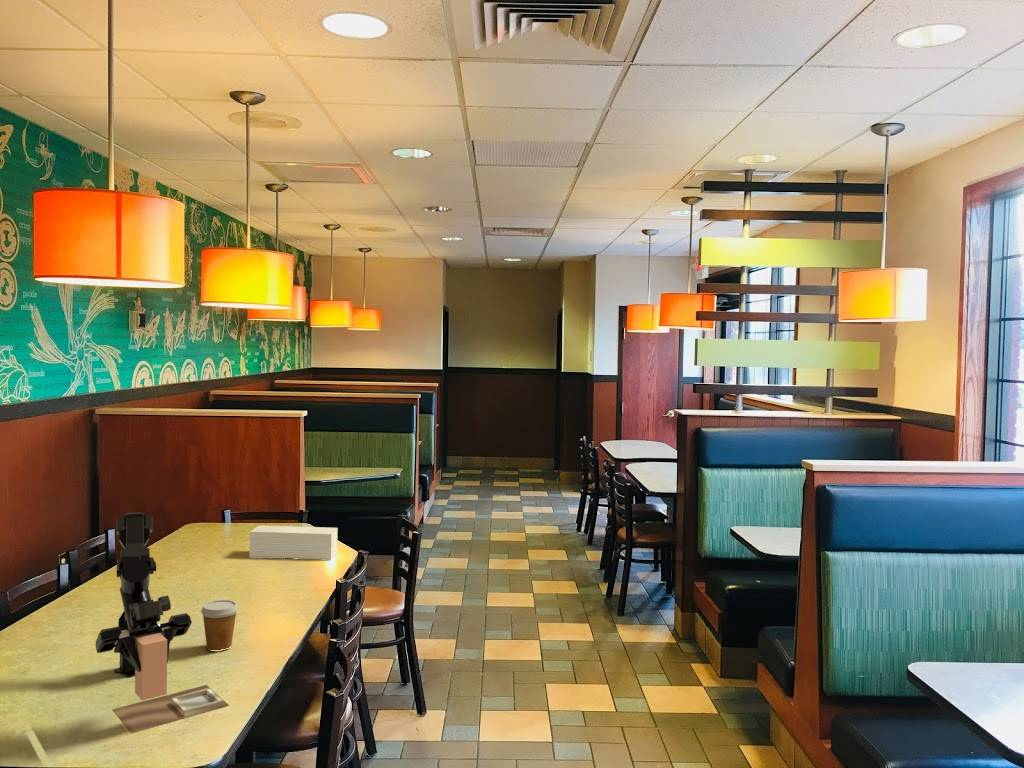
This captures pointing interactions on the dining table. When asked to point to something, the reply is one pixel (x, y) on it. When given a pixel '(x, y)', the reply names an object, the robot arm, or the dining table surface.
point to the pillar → (151, 666)
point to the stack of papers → (293, 542)
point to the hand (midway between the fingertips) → (153, 667)
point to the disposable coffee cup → (219, 623)
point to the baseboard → (169, 708)
